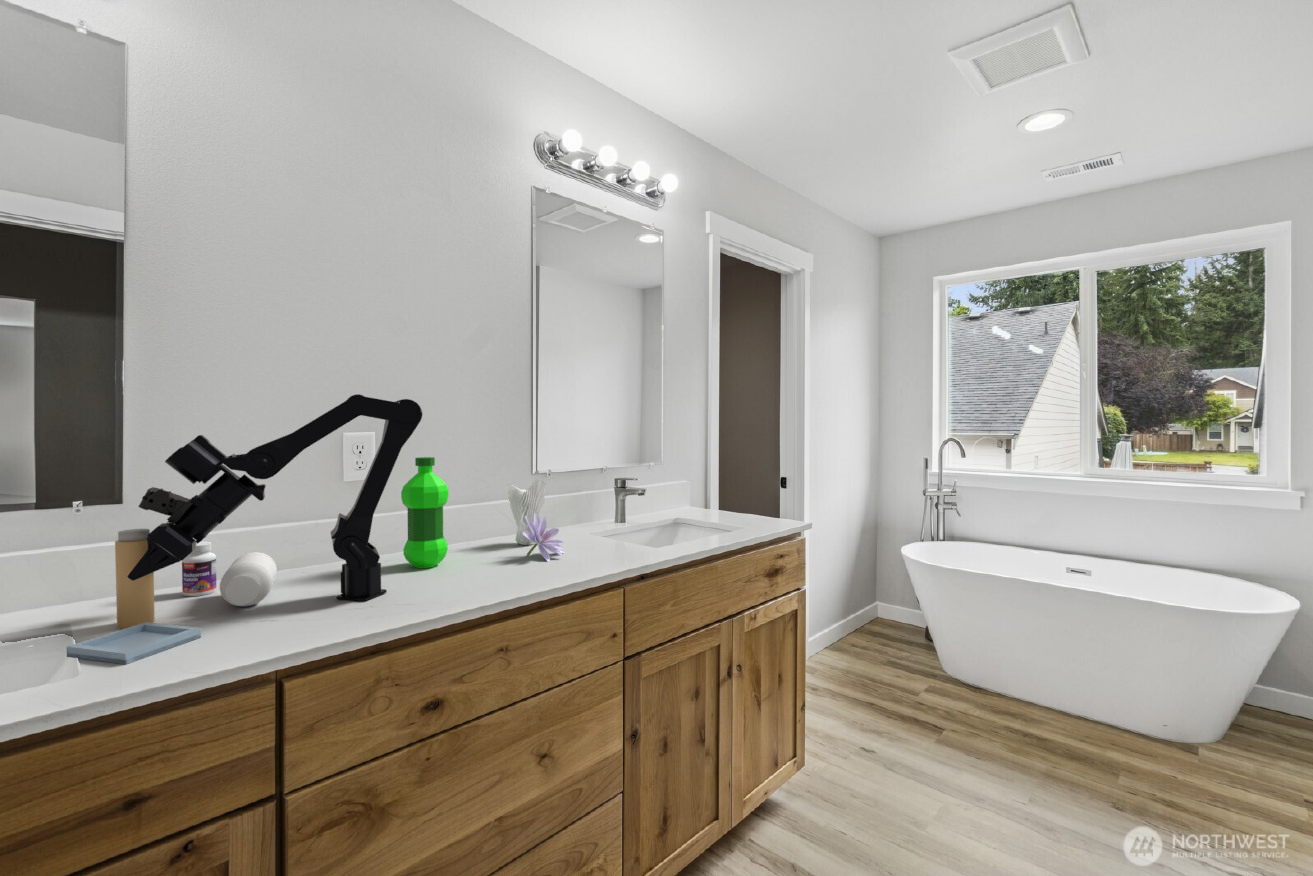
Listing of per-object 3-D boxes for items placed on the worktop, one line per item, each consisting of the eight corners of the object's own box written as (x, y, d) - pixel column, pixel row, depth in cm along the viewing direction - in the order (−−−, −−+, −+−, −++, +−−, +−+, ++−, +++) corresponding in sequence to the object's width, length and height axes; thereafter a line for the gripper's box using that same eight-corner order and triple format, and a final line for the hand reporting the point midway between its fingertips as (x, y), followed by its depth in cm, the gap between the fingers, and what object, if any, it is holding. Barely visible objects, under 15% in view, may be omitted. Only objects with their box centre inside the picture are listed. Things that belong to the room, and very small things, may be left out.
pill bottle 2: (251, 600, 123) (238, 622, 110) (219, 571, 121) (202, 590, 107) (287, 571, 126) (279, 590, 112) (257, 542, 123) (245, 558, 110)
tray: (200, 637, 98) (200, 627, 97) (125, 664, 87) (125, 653, 87) (146, 631, 100) (146, 622, 100) (66, 657, 90) (66, 646, 89)
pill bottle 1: (178, 598, 119) (177, 547, 118) (186, 591, 123) (185, 542, 123) (213, 595, 121) (211, 545, 120) (219, 588, 126) (218, 539, 125)
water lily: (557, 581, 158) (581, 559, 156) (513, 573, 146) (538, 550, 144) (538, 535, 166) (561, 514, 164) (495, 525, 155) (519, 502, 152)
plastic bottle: (455, 566, 144) (454, 458, 143) (407, 572, 138) (406, 459, 137) (443, 558, 152) (442, 455, 151) (397, 564, 146) (396, 457, 146)
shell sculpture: (505, 544, 169) (504, 478, 168) (529, 540, 175) (529, 476, 175) (524, 548, 164) (524, 480, 163) (548, 544, 170) (548, 477, 169)
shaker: (161, 620, 106) (159, 529, 105) (132, 629, 101) (129, 534, 100) (140, 618, 107) (137, 527, 106) (109, 627, 102) (107, 532, 102)
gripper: (185, 466, 114) (108, 531, 109) (164, 475, 98) (71, 552, 93) (238, 507, 118) (165, 571, 113) (225, 521, 102) (140, 598, 97)
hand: (137, 572), depth 104 cm, fingers open, 9 cm apart
